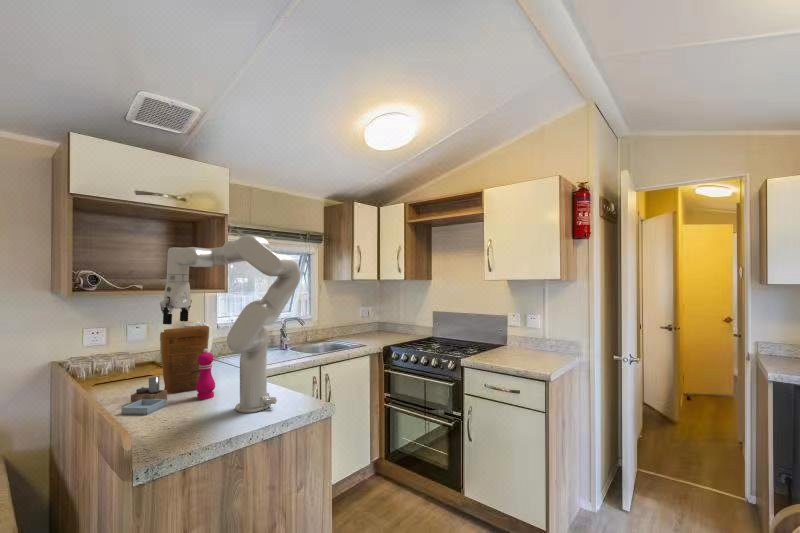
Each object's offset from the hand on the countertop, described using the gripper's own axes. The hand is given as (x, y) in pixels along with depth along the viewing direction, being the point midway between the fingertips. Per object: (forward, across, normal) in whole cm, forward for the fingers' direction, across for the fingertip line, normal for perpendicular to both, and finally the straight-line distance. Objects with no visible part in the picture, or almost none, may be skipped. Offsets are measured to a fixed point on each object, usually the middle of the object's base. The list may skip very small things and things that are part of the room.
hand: (175, 322), depth 153 cm
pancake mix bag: (+32, +19, +7) cm, 38 cm away
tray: (+32, -6, +6) cm, 33 cm away
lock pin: (+32, +2, +9) cm, 34 cm away
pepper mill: (+32, +10, -8) cm, 34 cm away
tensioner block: (+32, +2, +11) cm, 34 cm away
